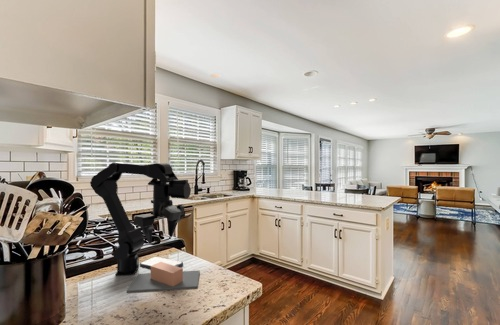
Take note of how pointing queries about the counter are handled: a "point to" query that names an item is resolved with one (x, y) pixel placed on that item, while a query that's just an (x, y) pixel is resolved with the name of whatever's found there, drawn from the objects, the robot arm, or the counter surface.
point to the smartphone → (156, 260)
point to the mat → (148, 284)
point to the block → (167, 273)
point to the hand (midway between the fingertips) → (160, 239)
